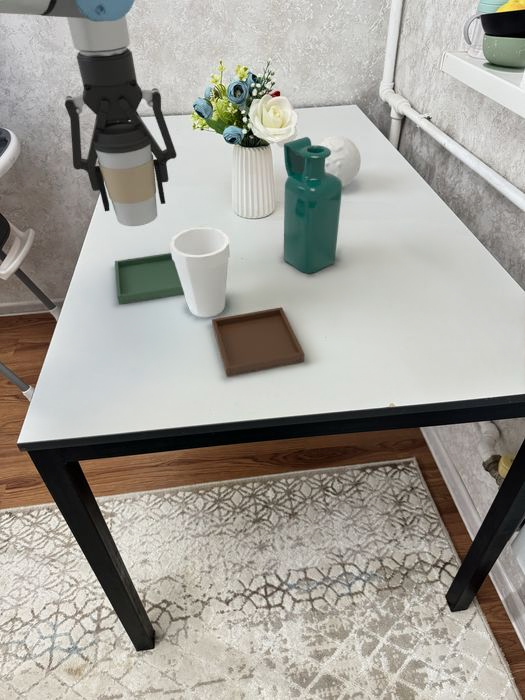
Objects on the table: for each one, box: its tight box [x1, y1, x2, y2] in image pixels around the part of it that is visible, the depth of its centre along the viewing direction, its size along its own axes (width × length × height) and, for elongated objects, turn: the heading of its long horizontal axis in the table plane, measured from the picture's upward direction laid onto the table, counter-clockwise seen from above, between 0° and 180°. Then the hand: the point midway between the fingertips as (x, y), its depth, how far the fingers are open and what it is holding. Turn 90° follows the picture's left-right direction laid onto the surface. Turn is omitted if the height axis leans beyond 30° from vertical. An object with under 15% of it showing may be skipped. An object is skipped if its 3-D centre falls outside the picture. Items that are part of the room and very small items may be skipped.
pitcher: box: [283, 136, 343, 274], centre depth 90 cm, size 10×8×22 cm
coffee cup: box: [93, 120, 158, 227], centre depth 79 cm, size 9×9×15 cm
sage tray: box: [114, 252, 185, 305], centre depth 93 cm, size 12×12×2 cm
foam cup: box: [169, 226, 231, 319], centre depth 82 cm, size 10×9×13 cm
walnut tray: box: [211, 307, 305, 377], centre depth 79 cm, size 12×12×2 cm
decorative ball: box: [317, 135, 362, 189], centre depth 118 cm, size 12×12×12 cm
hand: (135, 203), depth 83 cm, fingers closed on coffee cup, 8 cm apart
